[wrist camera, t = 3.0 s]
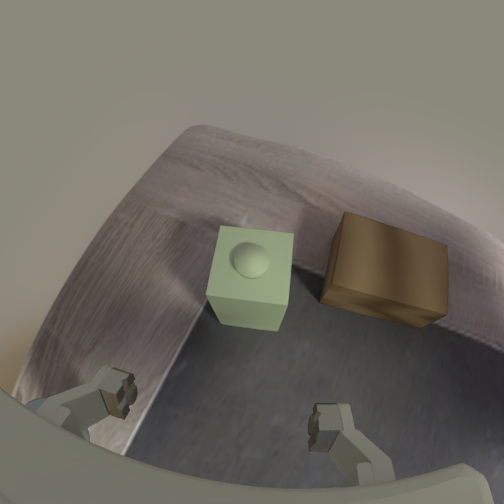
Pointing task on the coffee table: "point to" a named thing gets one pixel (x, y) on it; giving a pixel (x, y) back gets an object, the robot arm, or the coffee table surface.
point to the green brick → (250, 277)
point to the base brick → (386, 273)
